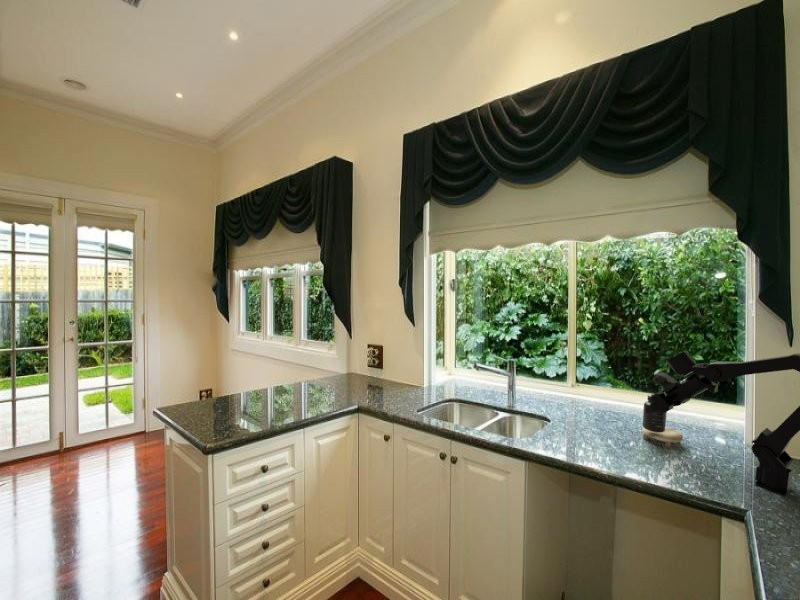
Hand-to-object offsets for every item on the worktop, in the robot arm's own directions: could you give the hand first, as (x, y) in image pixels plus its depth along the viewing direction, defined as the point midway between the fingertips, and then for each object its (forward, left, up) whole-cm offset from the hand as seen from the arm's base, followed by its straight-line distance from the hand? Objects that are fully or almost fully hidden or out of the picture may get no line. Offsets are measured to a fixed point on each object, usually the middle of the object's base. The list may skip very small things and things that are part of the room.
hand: (650, 409), depth 136 cm
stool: (-2, -6, -12) cm, 14 cm away
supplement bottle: (-1, 0, -7) cm, 7 cm away
